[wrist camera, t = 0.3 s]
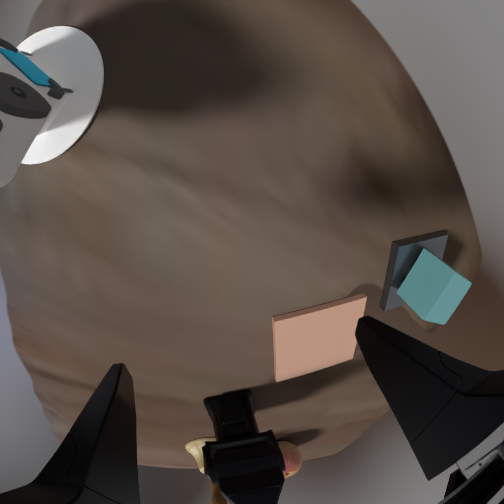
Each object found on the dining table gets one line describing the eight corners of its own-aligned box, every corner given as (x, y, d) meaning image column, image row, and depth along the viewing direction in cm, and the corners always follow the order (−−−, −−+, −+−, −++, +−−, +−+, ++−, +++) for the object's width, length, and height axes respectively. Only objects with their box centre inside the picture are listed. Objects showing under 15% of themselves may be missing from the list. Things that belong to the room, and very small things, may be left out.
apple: (243, 451, 45) (252, 484, 38) (276, 433, 43) (289, 468, 36) (271, 454, 49) (281, 484, 42) (303, 437, 47) (316, 468, 40)
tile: (349, 354, 35) (352, 358, 35) (274, 377, 34) (276, 382, 33) (363, 292, 30) (367, 296, 29) (272, 316, 28) (274, 321, 28)
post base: (426, 288, 33) (453, 313, 28) (379, 306, 32) (406, 336, 27) (441, 230, 29) (475, 252, 24) (392, 241, 28) (427, 269, 22)
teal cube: (444, 262, 29) (471, 283, 25) (420, 300, 31) (444, 325, 27) (423, 248, 27) (455, 271, 22) (396, 292, 29) (423, 320, 24)
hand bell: (195, 455, 42) (209, 526, 29) (177, 441, 38) (190, 523, 24) (236, 447, 43) (256, 518, 29) (223, 432, 39) (244, 516, 25)
